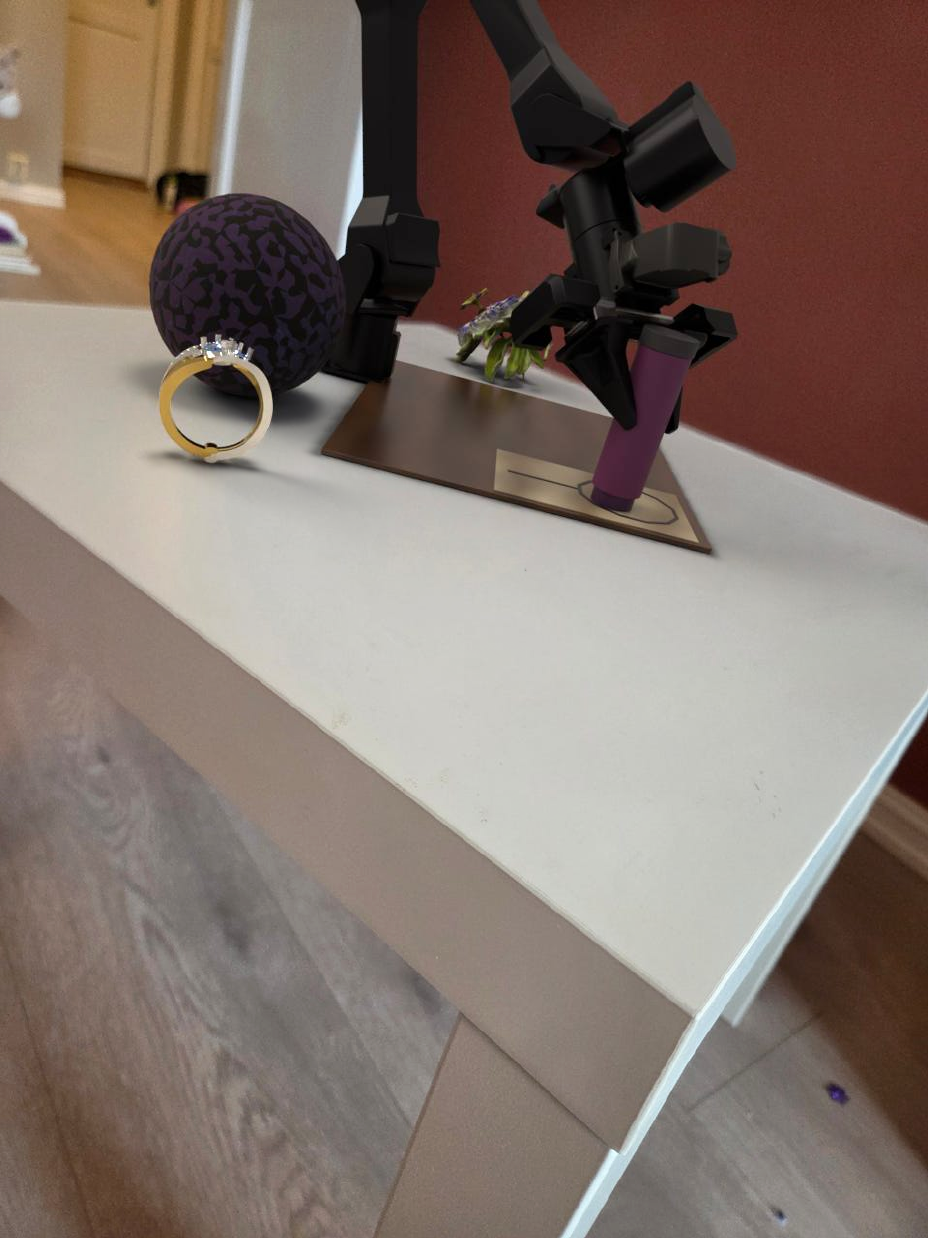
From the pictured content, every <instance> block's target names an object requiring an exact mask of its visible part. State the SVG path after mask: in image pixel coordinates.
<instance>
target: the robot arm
mask: <svg viewBox="0 0 928 1238" xmlns="http://www.w3.org/2000/svg"><path fill="white" fill-rule="evenodd" d="M428 1H429V0H354V2H355V4H356V7H357V10H358V12H359V15H360V30H361V31H360V32H361V33H360V34H361V35H360V37H361V38H360V39H361V40H360V42H361V46H360V47H361V125H362V126H361V127H362V128H361V129H362V134H361V135H362V137H361V139H362V141H361V142H362V195H361V196H362V197H361V199H360V202H359V203H358V206H357V207H356V209H355V211H354V214H353V215H352V217H351V220H350V221H349V224H348V226H347V230H346V239H345V248H344V254H343V255H342V256H341V257H339V258H338V259H337V261H338V264H339V267H340V270H341V273H342V276H343V282H344V287H345V294H346V312H345V319H344V324H343V329H342V333H341V336H340V339H339V342H338V344H337V346H336V349H335V350H334V352H333V353H332V355H331V357H330V358H329V360H328V361H327V362H326V363H325V365H324V366H323V367H322V368H321V369H320V370H319V371H324V372H327V373H331V374H334V375H339V376H342V377H347V378H349V379H354V380H358V381H361V382H365V383H369V381H373V382H377V383H383V382H384V380H385V379H386V378H389V377H391V375H392V373H393V372H394V367H395V362H396V360H397V356H398V353H399V348H400V342H401V339H402V333H401V331H399V330H397V328H398V324H399V318H400V317H405V318H412V317H413V316H414V313H415V311H416V309H417V307H418V306H419V305H420V302H421V300H422V298H424V297H425V295H426V294H427V293H428V291H429V290H430V289H432V288H433V286H434V283H435V279H436V269H440V268H441V267H442V264H441V260H440V257H439V256H440V255H439V241H440V234H441V228H440V223H439V222H440V221H439V220H438V219H434V218H430V217H429V218H428V217H425V215H424V212H423V210H422V208H421V206H420V203H419V200H418V84H419V83H418V82H419V81H418V80H419V79H418V77H419V75H418V74H419V73H418V71H419V70H418V69H419V67H418V65H419V63H418V61H419V60H418V59H419V37H418V36H419V20H420V16H421V15H422V14H423V11H424V9H425V7H426V5H427V4H428ZM468 1H469V4H470V6H471V7H472V9H473V11H474V13H475V15H476V17H477V20H478V21H479V23H480V25H481V27H482V29H483V31H484V32H485V35H486V36H487V38H488V40H489V42H490V45H491V47H492V48H493V50H494V52H495V55H496V56H497V58H498V60H499V62H500V64H501V66H502V67H503V70H504V73H505V74H506V78H507V82H508V84H509V88H510V89H509V109H510V113H511V116H512V119H513V123H514V126H515V128H516V131H517V134H518V135H517V136H518V138H519V142H520V145H521V147H522V149H523V151H524V152H525V154H526V155H527V156H528V158H530V159H531V160H532V161H533V162H535V163H538V164H540V165H543V166H547V167H549V168H553V169H557V170H560V171H563V172H566V173H569V174H572V176H571V177H569V178H567V179H566V180H565V181H564V182H562V183H561V184H559V185H557V184H555V183H551V184H550V185H548V186H549V187H548V190H547V192H546V193H545V195H544V196H543V197H542V198H541V199H540V201H539V203H538V204H537V206H536V208H535V215H536V216H537V217H539V218H541V219H542V220H544V221H546V222H548V223H549V224H551V225H553V226H554V227H555V228H557V229H560V230H564V229H565V233H566V234H565V235H566V237H567V238H566V239H567V242H568V246H569V250H570V256H571V260H572V263H571V264H570V265H569V266H568V267H567V268H566V269H565V270H564V271H563V275H562V274H557V273H553V272H550V273H549V274H547V276H546V277H545V278H543V279H542V281H540V282H539V283H538V284H537V285H536V286H535V287H534V288H533V289H532V290H530V291H531V292H530V291H529V292H530V293H529V294H528V295H527V296H526V297H525V298H524V299H523V300H522V301H521V302H520V303H519V304H517V305H516V306H515V307H514V309H513V310H512V313H511V317H510V320H509V325H510V330H511V333H510V336H512V340H513V344H514V346H515V347H516V348H523V349H530V350H537V351H538V352H544V351H545V349H546V348H547V346H548V345H549V344H550V343H552V341H553V338H554V337H553V334H552V330H551V328H553V327H557V328H563V333H564V337H563V342H564V345H563V346H562V347H561V348H559V350H557V351H556V352H555V353H554V360H555V361H556V362H557V363H560V364H563V365H565V367H566V368H568V369H569V371H570V372H572V373H573V375H574V376H575V377H577V379H578V380H579V381H580V382H581V383H582V384H583V385H584V386H585V387H586V388H587V389H588V391H590V392H591V394H592V395H593V396H594V397H595V398H596V399H597V400H598V402H599V403H600V404H601V405H602V406H603V407H604V409H606V411H607V412H608V413H609V414H610V415H611V417H612V418H614V419H615V420H616V421H617V422H618V423H619V425H620V426H621V427H622V428H623V429H624V430H631V429H632V428H634V427H635V426H636V425H637V413H636V404H635V398H634V393H633V388H632V382H631V377H630V367H629V361H628V358H627V357H628V356H627V347H628V343H629V342H630V343H635V344H636V348H638V346H639V343H640V342H639V339H640V336H641V333H642V330H643V327H644V325H645V324H651V325H656V326H661V327H665V328H668V329H672V330H675V331H678V332H681V333H683V334H686V335H689V336H691V337H693V338H695V339H697V340H698V341H700V344H699V347H698V349H697V352H696V355H695V357H694V359H692V361H691V364H690V367H689V369H688V371H689V370H692V369H694V368H695V367H696V366H698V365H699V364H702V363H703V362H704V361H706V360H707V359H708V358H710V357H712V356H713V355H715V354H716V353H718V352H719V351H721V350H722V349H724V348H725V347H727V346H728V345H730V344H732V343H733V342H735V341H736V340H737V339H738V336H739V335H738V334H739V332H738V329H737V326H736V325H737V324H736V321H735V318H734V315H733V312H730V311H727V310H725V309H722V308H717V307H713V306H709V305H703V304H699V303H694V302H692V303H690V304H689V305H687V306H686V307H685V308H684V309H682V310H681V311H679V312H678V313H676V314H675V315H674V316H670V315H665V314H662V311H661V310H662V308H663V307H665V306H666V307H670V306H672V305H673V304H674V303H676V301H678V300H679V299H681V296H680V291H679V289H682V288H687V287H690V286H694V285H697V284H700V283H706V284H711V283H713V282H717V280H718V277H720V276H723V275H725V274H727V272H728V270H729V269H730V267H731V259H732V256H733V250H732V249H731V247H730V245H729V241H728V239H727V238H728V237H727V236H726V233H725V232H724V231H723V230H721V229H718V228H713V227H710V226H708V227H703V226H699V225H695V224H692V223H690V222H689V223H688V222H682V221H679V222H678V221H677V222H671V223H667V224H664V225H662V226H659V227H656V228H653V229H650V230H648V231H646V232H644V227H643V224H642V219H641V217H640V212H639V208H638V204H639V205H640V206H642V207H643V208H644V209H650V208H651V207H654V208H655V209H656V210H658V211H659V212H661V213H663V214H666V213H669V212H670V211H672V210H673V209H675V208H677V207H678V206H680V205H681V204H683V203H684V202H686V201H688V200H689V199H690V198H692V197H694V196H696V195H697V194H699V193H700V192H701V191H703V190H705V189H706V188H708V187H709V186H711V185H712V184H714V183H716V182H717V181H719V180H721V179H722V178H723V177H725V176H726V175H728V174H730V173H731V172H732V171H735V169H736V168H737V162H738V161H737V154H736V150H735V146H734V143H733V140H732V137H731V134H730V132H729V131H728V129H727V128H725V127H724V126H723V124H722V122H721V120H720V119H719V116H718V115H717V114H716V112H715V111H714V109H713V107H712V106H711V104H710V103H709V102H708V101H707V100H706V97H705V95H704V91H703V89H702V87H701V86H699V85H698V84H696V83H694V82H693V81H691V80H686V81H684V82H683V83H682V84H680V85H679V86H678V87H677V88H675V89H673V91H672V92H671V93H670V94H668V96H667V98H666V99H665V100H663V101H662V102H661V103H659V104H658V105H657V106H656V107H654V108H653V109H651V110H650V111H649V112H647V113H646V114H645V115H643V116H642V117H641V118H638V120H636V121H635V122H634V123H632V124H629V123H627V122H625V121H622V120H620V119H619V115H618V113H617V110H616V108H615V107H614V106H613V105H612V103H611V102H610V101H609V100H608V98H607V97H606V96H605V95H604V93H603V92H602V91H601V90H600V89H599V87H598V86H597V85H596V84H595V82H594V81H593V80H592V79H591V78H590V77H589V75H588V74H586V72H584V71H583V70H582V69H581V68H580V67H579V66H578V65H577V64H576V63H575V62H574V61H573V60H572V59H571V58H570V56H569V55H568V54H567V53H566V52H565V50H564V49H563V48H562V47H561V45H560V43H559V41H558V39H557V37H556V35H555V33H554V31H553V29H552V27H551V26H550V23H549V22H548V20H547V17H546V16H545V14H544V12H543V11H542V8H541V6H540V4H539V2H538V1H537V0H468ZM684 383H685V382H684ZM684 383H683V385H682V388H681V391H680V393H679V396H678V398H677V401H676V404H675V406H674V409H673V412H672V414H671V417H670V420H669V422H668V425H667V428H666V430H665V433H664V435H670V434H673V433H674V432H677V430H679V427H680V426H679V425H680V418H681V407H682V399H683V392H684Z"/></svg>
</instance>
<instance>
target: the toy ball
mask: <svg viewBox="0 0 928 1238" xmlns="http://www.w3.org/2000/svg"><path fill="white" fill-rule="evenodd" d="M152 257H153V258H152V261H151V264H150V271H149V277H148V278H149V280H148V290H149V303H150V304H149V305H150V310H151V313H152V316H153V320H154V324H155V326H156V328H157V332H158V334H159V335H160V338H161V340H162V341H163V343H164V344H165V346H166V347H167V349H168V350H169V353H170V354H171V355H172V356H173V358H174V359H175V358H176V357H177V356H178V355H179V354H180V353H181V352H183V351H184V350H186V349H188V348H190V347H193V346H195V345H198V344H201V337H206V338H207V342H215V337H216V333H217V334H221V335H222V336H221V341H222V340H229V339H230V337H231V338H234V340H235V341H237V342H236V343H237V344H238V346H239V343H240V342H243V343H244V346H243V349H242V353H245V354H247V351H248V349H249V347H251V348H253V349H254V351H253V353H252V356H251V358H250V361H252V362H253V363H254V364H256V365H257V366H258V367H259V368H260V369H261V371H262V372H263V373H264V375H265V377H266V379H267V381H268V384H269V387H270V390H271V395H272V396H276V395H280V394H283V393H286V392H290V391H292V390H294V389H296V388H298V387H299V386H301V385H303V384H305V383H306V382H308V381H309V380H311V379H312V378H313V377H314V376H316V375H317V374H318V373H319V372H320V371H321V370H320V369H321V368H322V367H323V366H324V365H325V363H326V362H327V361H328V360H329V358H330V357H331V355H332V353H333V352H334V350H335V349H336V346H337V344H338V342H339V339H340V336H341V333H342V329H343V324H344V319H345V312H346V294H345V287H344V282H343V276H342V273H341V270H340V267H339V264H338V261H337V260H338V259H337V257H336V255H335V253H334V251H333V250H332V248H331V247H330V245H329V243H328V242H327V240H326V239H325V237H324V236H323V235H322V234H321V233H320V231H319V230H318V229H317V228H316V226H315V225H313V223H312V222H311V221H310V220H309V219H308V218H306V217H304V216H303V215H301V213H299V212H298V211H297V210H295V209H294V208H293V207H290V206H289V205H287V204H285V203H283V202H281V201H279V200H277V199H274V198H270V197H268V196H265V195H261V194H260V195H258V194H254V193H247V192H235V193H225V194H220V195H215V196H212V197H210V198H206V199H203V200H202V201H199V202H198V203H196V204H194V205H192V206H191V207H188V208H187V209H186V210H185V211H183V212H182V213H181V214H180V215H179V216H178V217H177V218H176V219H175V220H174V221H173V222H172V223H171V225H169V227H168V228H166V230H165V231H164V233H163V234H162V236H161V238H160V240H159V241H158V244H157V246H156V249H155V251H154V254H153V256H152ZM238 346H237V349H238ZM198 357H204V355H199V356H197V357H195V358H198ZM193 359H194V358H193ZM192 376H194V377H195V378H196V379H197V380H199V381H200V382H202V383H204V384H205V385H208V386H209V387H211V388H213V389H215V390H218V391H221V392H224V393H227V394H230V395H234V396H240V397H249V398H259V395H258V393H257V390H256V388H255V386H254V385H253V383H252V382H251V381H250V379H249V378H248V377H247V376H246V375H245V374H244V373H242V372H241V371H240V370H238V369H237V368H235V367H234V366H233V365H232V364H231V365H215V364H212V367H211V368H209V369H205V370H202V371H200V372H197V373H195V374H193V375H192Z"/></svg>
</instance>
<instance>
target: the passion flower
mask: <svg viewBox="0 0 928 1238" xmlns="http://www.w3.org/2000/svg"><path fill="white" fill-rule="evenodd" d="M531 291H532V290H530V291H529V290H527V291H524V292H523V294H522V295H521V296H520V297H518V298H517V294H512V295H510V296H509V297H508V298H507V297H506V298H505V299H504V300H500V301H496V302H495V303H493V304H492V303H489V306H487V307H483V305H482V303H481V300H480V299H481V298H483V297H485V296H486V295H488V294H489V292H490V291H489V289H488V288H487V287H485V288H484V289H483V290H480V291H477V292H474V293H471V295H470V296H469V297H468V298H466V299H465V300H464V301H463V302H462V303H461V304H460V306H459V308H458V310H459V311H464V310H466V309H467V308H468V307H470V306H474V305H475V306H477V308H478V313H477V315H475V317H473V318H474V319H472V320H471V321H468V322H467V323H466V324H463V325H462V326H461V327H460V328H459V329H458V333H457V335H456V336H457V341H458V345H459V347H460V348H459V349H458V350H457V351H456V352H455V355H456V356H455V358H454V359H455V361H456V362H457V363H463V362H464V363H465V362H466V361H467V360H468V358H469V357H470V356H471V354H473V353H474V352H475V351H476V350H477V348H478V347H479V346H480V345H481V343H482V341H483V339H484V341H483V346H484V349H485V351H487V350H489V351H488V354H487V355H486V360H485V361H486V362H485V365H484V376H485V377H486V379H488V380H489V383H493V382H494V379H495V375H496V373H497V372H498V371H499V369H500V368H501V367H502V365H503V363H504V360H505V356H506V353H507V351H508V349H509V347H510V352H509V357H507V359H506V365H505V371H504V379H506V380H507V379H509V378H512V377H514V376H515V375H517V376H522V381H525V372H527V371H528V370H529V368H530V366H531V364H532V362H533V363H534V364H535V365H537V367H538V368H539V369H541V370H543V369H544V367H545V366H544V362H546V361H547V360H548V357H549V354H550V352H551V348H552V346H553V345H554V343H553V342H550V344H549V345H548V346H547V348H545V349H544V352H543V357H541V354H540V351H537V350H530V349H523V348H516V347H515V346H514V344H513V340H512V335H509V336H508V337H507V338H506V337H505V336H504V333H509V334H511V330H510V325H509V320H510V317H511V313H512V310H513V309H514V307H515V306H516V305H517V304H519V303H520V302H521V301H522V300H523V299H524V298H525V297H526V296H527V295H528V294H529V293H530V292H531ZM497 336H500V337H498V338H497ZM490 346H491V348H490V349H489V347H490Z"/></svg>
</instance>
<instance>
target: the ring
mask: <svg viewBox="0 0 928 1238" xmlns="http://www.w3.org/2000/svg"><path fill="white" fill-rule="evenodd" d="M221 336H222V335H221V334H217V333H216V337H215V342H207V338H206V337H201V344H198V345H195V346H193V347H190V348H188V349H186V350H184V351H183V352H181V353H180V354H179V355H178V356H177V357H176V358H175V357H174V359H173V360H172V361H171V363H170V364H169V366H168V367H167V369H166V371H165V373H164V375H163V378H162V379H161V383H160V384H161V385H160V387H159V391H158V392H159V393H158V409H159V410H158V411H159V416H160V419H161V422H162V425H163V427H164V430H165V431H166V433H167V435H168V436H169V438H170V439H171V440H172V441H173V442H174V444H176V445H177V446H178V447H180V448H181V449H182V450H183V451H185V452H187V453H189V454H191V455H193V456H195V457H198V458H202V459H203V460H204V462H206V463H208V464H209V463H210V464H215V463H217V462H218V461H222V460H231V459H234V458H237V457H240V456H243V455H244V454H246V453H248V452H249V451H251V450H252V449H253V448H254V447H256V445H258V444H259V443H260V441H261V440H262V439H263V437H264V436H265V434H266V433H267V431H268V429H269V427H270V425H271V421H272V417H273V395H271V390H270V387H269V384H268V381H267V379H266V377H265V375H264V373H263V372H262V371H261V369H260V368H259V367H258V366H257V365H256V364H254V363H253V362H252V361H250V358H251V356H252V353H253V351H254V349H253V348H251V347H249V349H248V351H247V354H245V353H242V349H243V346H244V343H243V342H240V343H239V346H238V344H237V343H236V342H237V341H235V340H234V338H231V337H230V339H229V340H222V341H221ZM237 346H238V349H237ZM199 355H204V357H198V358H195V357H197V356H199ZM193 358H194V359H193ZM212 364H215V365H231V364H232V365H233V366H234V367H235V368H237V369H238V370H240V371H241V372H242V373H244V374H245V375H246V376H247V377H248V378H249V379H250V381H251V382H252V383H253V385H254V386H255V388H256V390H257V393H258V395H259V397H258V400H259V412H258V416H257V420H256V422H255V424H254V426H253V427H252V429H251V431H250V432H249V433H248V434H247V435H246V436H245V437H244V438H242V439H241V440H240V441H237V442H236V443H233V444H230V445H225V446H218V445H217V444H216V443H214V442H206V443H204V444H201V443H198V442H195V441H194V440H192V439H190V438H189V437H187V436H186V435H185V434H183V432H182V431H181V430H180V429H179V427H178V426H177V425H176V423H175V420H174V419H173V416H172V409H171V402H172V399H173V395H174V394H175V391H176V390H177V388H178V387H179V386H180V385H181V384H182V383H183V382H184V381H185V380H186V379H188V378H190V377H191V376H194V375H193V374H195V373H197V372H200V371H202V370H205V369H209V368H211V367H212Z"/></svg>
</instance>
